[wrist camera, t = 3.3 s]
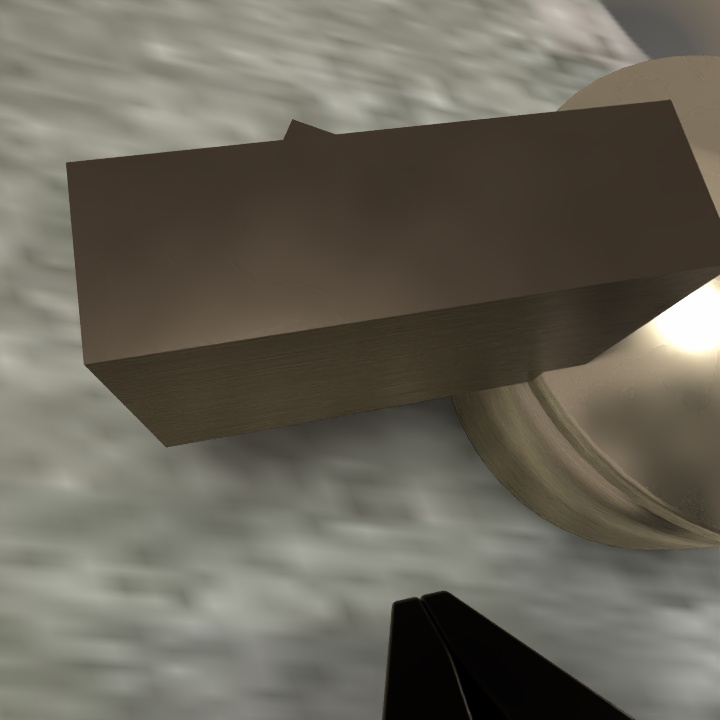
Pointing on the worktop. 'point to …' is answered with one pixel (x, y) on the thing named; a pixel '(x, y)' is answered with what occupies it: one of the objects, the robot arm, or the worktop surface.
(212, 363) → the cooker lid
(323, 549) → the worktop surface
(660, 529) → the cooker pot
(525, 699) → the robot arm
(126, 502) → the worktop surface
